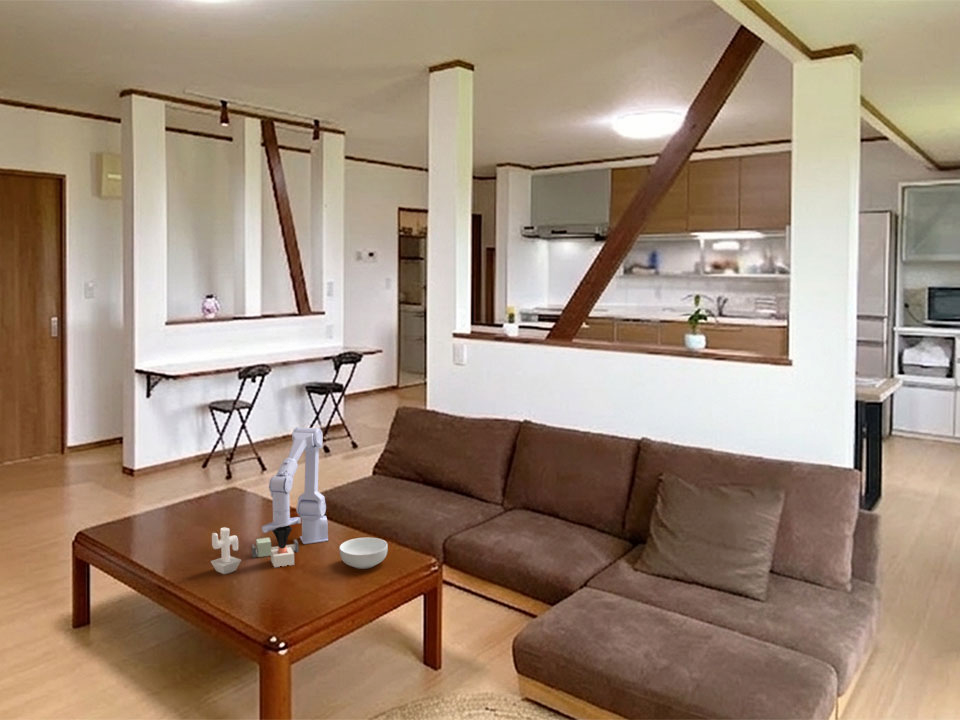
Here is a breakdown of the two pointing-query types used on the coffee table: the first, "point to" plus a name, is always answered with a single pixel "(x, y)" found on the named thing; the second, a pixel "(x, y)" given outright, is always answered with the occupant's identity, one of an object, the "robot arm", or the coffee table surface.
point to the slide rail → (293, 546)
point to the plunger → (281, 550)
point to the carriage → (263, 547)
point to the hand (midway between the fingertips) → (282, 547)
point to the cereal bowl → (363, 552)
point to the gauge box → (282, 557)
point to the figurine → (225, 551)
